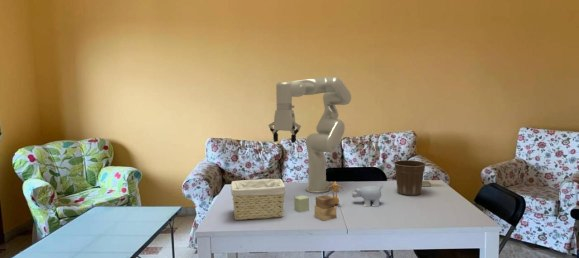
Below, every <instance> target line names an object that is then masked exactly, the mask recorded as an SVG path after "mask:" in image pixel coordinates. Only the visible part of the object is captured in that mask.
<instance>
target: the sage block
mask: <svg viewBox="0 0 579 258" xmlns="http://www.w3.org/2000/svg"><path fill="white" fill-rule="evenodd" d="M293 204H294V210H296V212H298V213H302V212H307V211H310V199H309V197H308V196H306V195H298V196H294V203H293Z"/></svg>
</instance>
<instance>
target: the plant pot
mask: <svg viewBox="0 0 579 258" xmlns="http://www.w3.org/2000/svg"><path fill="white" fill-rule="evenodd" d="M393 165H394V170H395V178H396V191H397V194H399V195H400V194H401V195H406V196H411V197H413V196H420V195H421V194H422V187H423V180H424V173H425V169H426V166H427V163H426V162H424V161H419V160H411V159H410V160H409V159H407V160H405V159H402V160H395V161H394V162H393Z"/></svg>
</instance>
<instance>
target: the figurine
mask: <svg viewBox="0 0 579 258" xmlns="http://www.w3.org/2000/svg"><path fill="white" fill-rule="evenodd" d="M331 187H333V188H332V191H331V192H332V197H333V198H334V200H335V206H336V205H338V204H339V203H340V200H339V197H338V191H339V189H338V187H339V188H341V189H342V192H343V191H344V190H345V189H344V188H343V186H342V185H340V184H337V181H333V185H329V186H328V188H327V190H328V189H329V190H330V188H331ZM329 190H328V191H329ZM344 192H345V191H344Z"/></svg>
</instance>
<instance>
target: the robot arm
mask: <svg viewBox="0 0 579 258" xmlns="http://www.w3.org/2000/svg"><path fill="white" fill-rule="evenodd" d="M275 86H276V92H275V93H276V94H275V95H276V110H274V111H275V112H274V116H273V117H274V118H273V122H271V123H269V124H268V128H269V129H270V130H269V131H270V132H271V134H272V135H273V137H272V138H273V142H274V143H276V142H278V141H279V134H278V132H279V131H282V132H283V131H285V132H286V131H287V132H290V133H291V137H290V139H291V143H292V144H294V143H296V141H297V134H298V133H299V132H300V129H301V127H302V126H301V124H299V123H297V122H296V116H295V111H294V110H293V109H295V105H294V104H293V100H292V99H293V98H299V97H302V96H314V95H317V94H323V95H322V101H323V106H324V107H323V108H324V111H323V114H322V115H321V117H320V119H319V121H318V122H317V125H316V132H317V133H316V132H315V133H310V134H309V135H308V136H307V137H306V139H305V143H306V144H305V145H306V150H307V157H308V158H307V160H308V161H307V162H308V186H306V187H305V191H306V192H308V193H312V194H313V193H314V194H323V193H327V192H328V191H329V190H330V188H329V189H328V190H327V188H328V187H329V186H331V185H333V184H334V181H328V180H327V175H326V173H327V168H326V167H327V165H326V161H327V159H326V156H325V154H324V153H333V152H335V151H336V150H337V148H338V145H339V143H340V142H341V140H342V138H343V136H344V133H345V130H346V128H345V122H344V121H343V120H342V119H339V111H338V108H337V107H336V106H342V105H343V106H346V105H348V104H350V103H351V101H352V94H351V91H350V90H349V88H348V87H347V86H346V85H345V83H344V82H343V80H341V79H340V78H339V77H337V76H324V77H323V76H322V77H315V78H306V79H301V80H300V79H299V80H291V81H282V82H277V83H276V85H275Z"/></svg>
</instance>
